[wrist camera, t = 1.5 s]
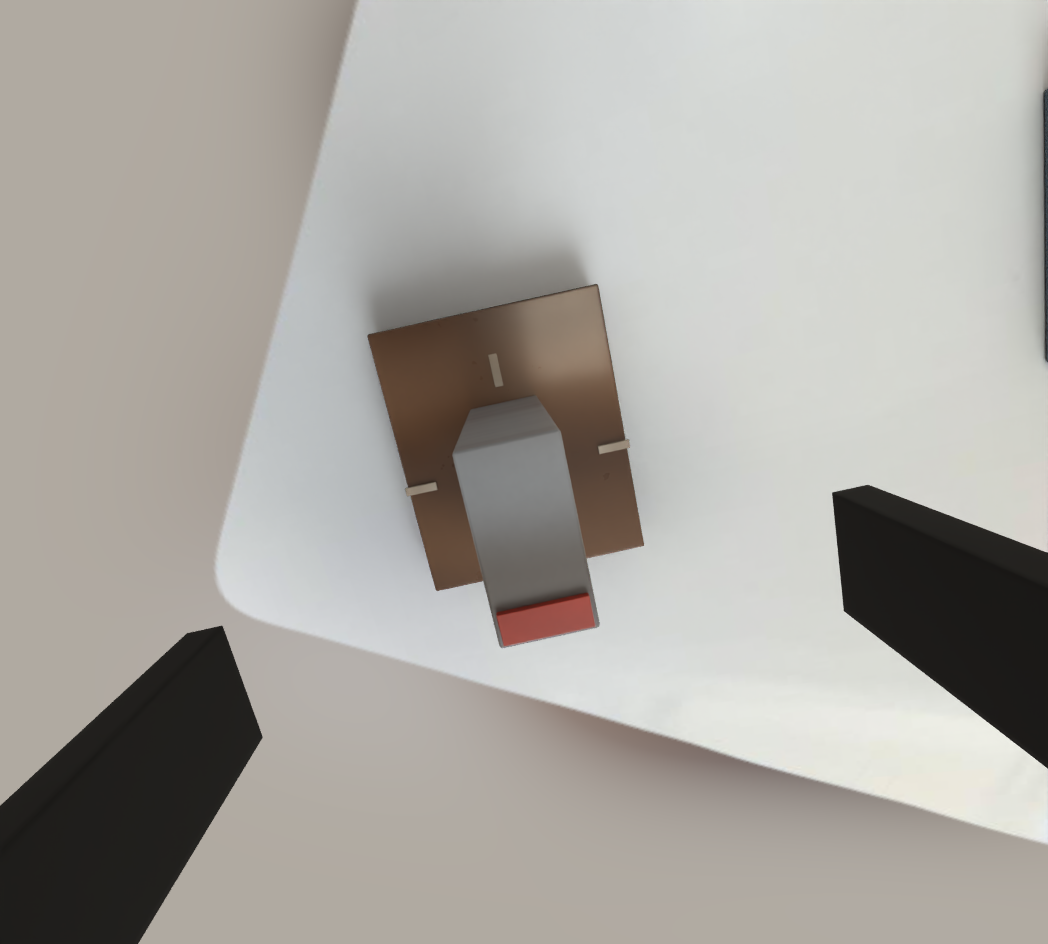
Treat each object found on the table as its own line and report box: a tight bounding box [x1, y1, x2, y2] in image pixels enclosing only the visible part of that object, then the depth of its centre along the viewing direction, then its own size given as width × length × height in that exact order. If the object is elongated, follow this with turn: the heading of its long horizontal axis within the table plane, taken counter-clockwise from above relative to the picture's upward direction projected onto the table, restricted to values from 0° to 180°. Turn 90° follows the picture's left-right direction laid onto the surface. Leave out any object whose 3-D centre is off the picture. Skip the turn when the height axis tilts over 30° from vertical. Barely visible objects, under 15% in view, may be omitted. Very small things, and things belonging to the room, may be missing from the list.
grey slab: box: [452, 395, 600, 648], centre depth 21 cm, size 6×3×10 cm, turn 12°
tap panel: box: [368, 284, 644, 591], centre depth 27 cm, size 12×10×2 cm
